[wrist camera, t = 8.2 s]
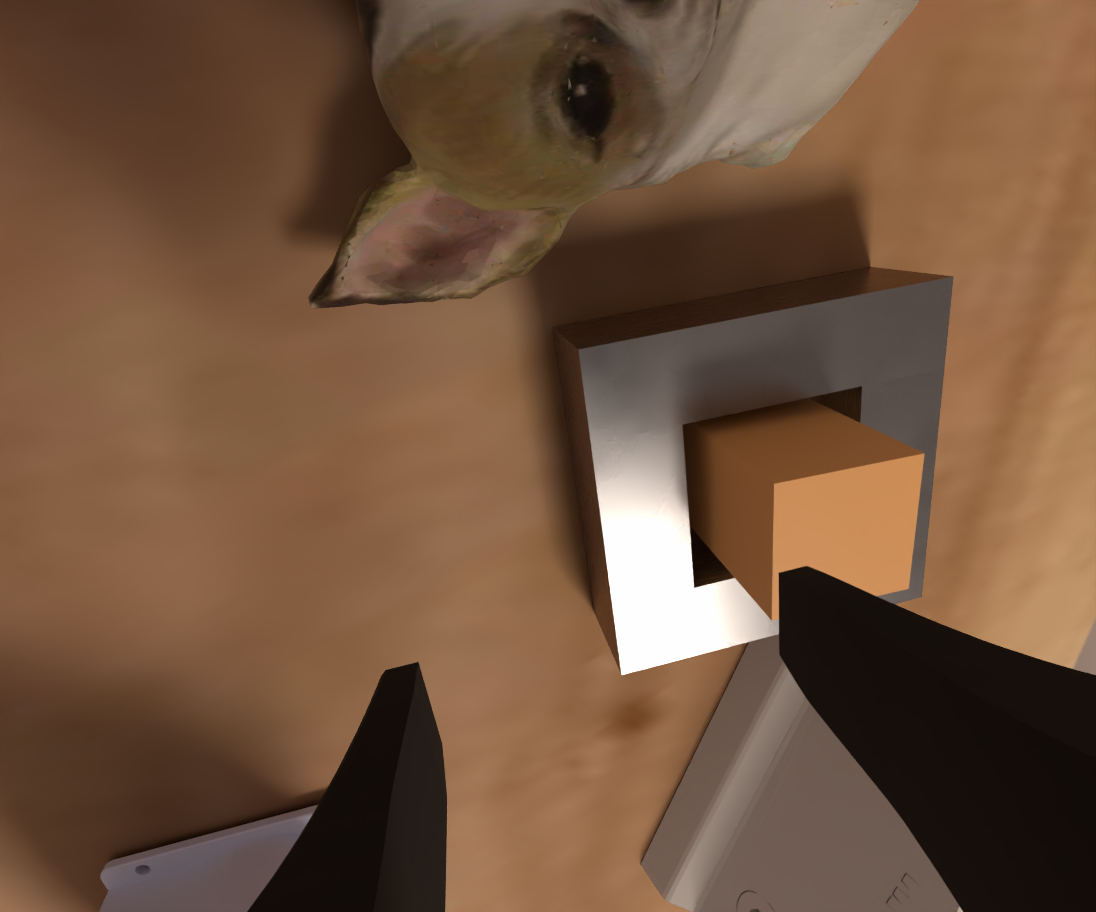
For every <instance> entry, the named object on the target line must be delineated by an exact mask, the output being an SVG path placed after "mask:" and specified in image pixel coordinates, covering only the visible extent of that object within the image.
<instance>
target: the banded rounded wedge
mask: <svg viewBox="0 0 1096 912" xmlns="http://www.w3.org/2000/svg"><path fill="white" fill-rule="evenodd" d="M641 866H642V867H643V869H644V870H645V872H646V873H647V875H648V876H649V878H650V879H651V881H652V882H653V884H654V885H655V887H656V888H657V890H658V891H659V893H660V894H661V896H662V897H663V898H664V899H665V900H667V901H668V902H670V903H672V904H675V905H677V906H679V907H682V908H684V909H686V910H689V911H691V912H963V911H962V909H961V908H960V906H959V905H958V903H957V902H956V900H955V898H954V897H953V895H952V894H951V892H950V891H949V889H948V887H947V886H946V884H945V883H944V881H943V880H942V878H941V876H940V875H939V873H938V872H937V870H936V869H935V867H934V866H933V864H932V863H931V862H930V860H929V859H928V857H927V856H926V854H925V853H924V851H923V850H922V848H921V847H920V845H919V844H918V842H917V841H916V839H915V838H914V836H913V835H912V833H911V832H910V830H909V829H908V827H907V826H906V824H905V823H904V821H903V820H902V819H901V817H900V816H899V815H898V813H897V812H896V811H895V809H894V808H893V807H892V805H891V804H890V803H889V801H888V800H887V799H886V797H885V796H884V795H883V794H882V792H881V791H880V790H879V789H878V787H877V786H876V785H875V784H874V783H873V781H872V780H871V779H870V778H869V776H868V775H867V774H866V773H865V771H864V770H863V769H862V768H861V766H860V765H859V764H858V763H857V762H856V760H855V759H854V758H853V757H852V755H851V754H850V753H849V752H848V750H847V749H846V748H845V747H844V745H843V744H842V743H841V742H840V741H839V739H838V738H837V737H836V736H835V734H834V733H833V732H832V731H831V729H830V728H829V727H828V726H827V724H826V723H825V722H824V721H823V719H822V718H821V717H820V716H819V714H818V713H817V712H816V711H815V709H814V708H813V707H812V705H811V704H810V703H809V702H808V700H807V699H806V697H805V696H804V694H803V693H802V691H801V689H800V688H799V686H798V685H797V683H796V682H795V680H794V678H793V677H792V675H791V673H790V672H789V670H788V668H787V667H786V665H785V663H784V662H783V660H782V658H781V657H780V655H779V634H777V635H773V636H770V637H766V638H762V639H758V640H754V641H750V642H749V643H748V645H747V647H746V650H745V652H744V654H743V656H742V658H741V660H740V662H739V664H738V666H737V668H736V670H735V672H734V674H733V676H732V678H731V680H730V682H729V684H728V686H727V688H726V691H725V693H724V695H723V697H722V699H721V701H720V703H719V705H718V707H717V709H716V711H715V713H714V715H713V717H712V719H711V721H710V723H709V725H708V727H707V729H706V731H705V734H704V736H703V738H702V740H701V742H700V744H699V746H698V748H697V750H696V752H695V754H694V756H693V758H692V760H691V762H690V764H689V766H688V768H687V770H686V772H685V775H684V777H683V779H682V781H681V783H680V785H679V787H678V789H677V791H676V793H675V795H674V797H673V799H672V801H671V803H670V805H669V807H668V809H667V811H666V813H665V815H664V818H663V820H662V822H661V824H660V826H659V828H658V830H657V832H656V834H655V836H654V838H653V840H652V842H651V844H650V846H649V848H648V850H647V852H646V854H645V856H644V859H643V861H642V863H641Z"/></svg>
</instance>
